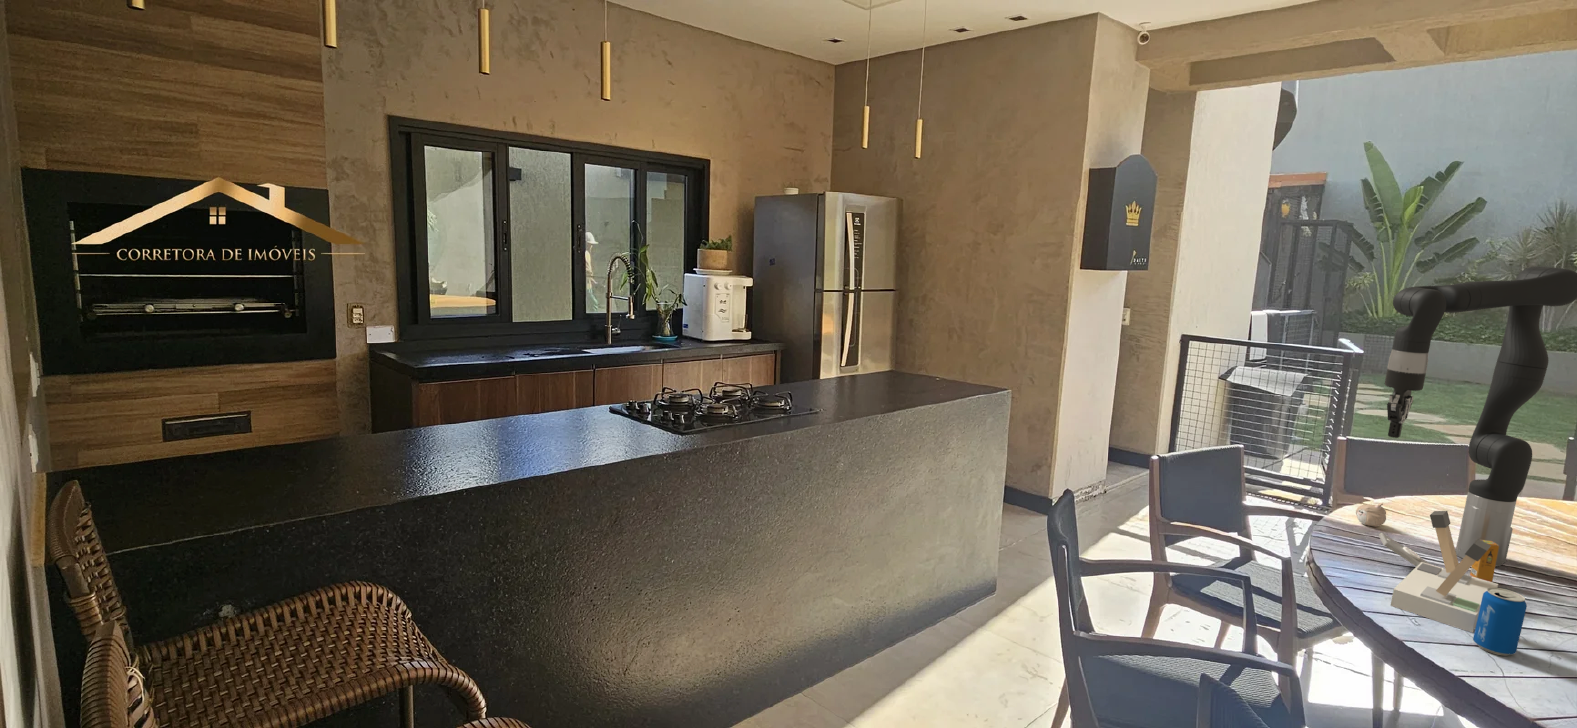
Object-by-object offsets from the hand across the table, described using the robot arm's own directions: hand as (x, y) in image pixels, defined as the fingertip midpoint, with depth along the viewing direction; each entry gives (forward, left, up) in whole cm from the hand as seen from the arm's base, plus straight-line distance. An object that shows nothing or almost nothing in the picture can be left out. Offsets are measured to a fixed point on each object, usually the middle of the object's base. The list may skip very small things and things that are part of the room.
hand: (1393, 436), depth 192 cm
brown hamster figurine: (-19, -19, -32) cm, 42 cm away
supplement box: (-15, +15, -32) cm, 39 cm away
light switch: (-2, +8, -32) cm, 33 cm away
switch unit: (+6, +24, -32) cm, 40 cm away
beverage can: (+15, +42, -32) cm, 55 cm away
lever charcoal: (-1, +20, -27) cm, 33 cm away
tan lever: (+13, +28, -27) cm, 41 cm away
